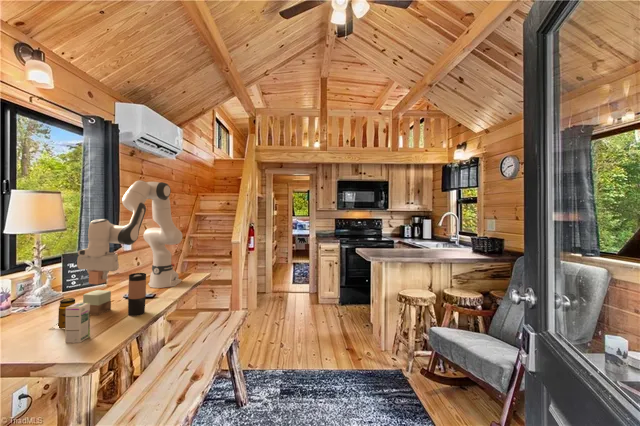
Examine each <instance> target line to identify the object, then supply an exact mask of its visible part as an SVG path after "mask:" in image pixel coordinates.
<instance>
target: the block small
mask: <svg viewBox="0 0 640 426" xmlns="http://www.w3.org/2000/svg"><path fill="white" fill-rule="evenodd" d="M103 274H104V273H103V271H101V270H93V271H90V272H89V274H88V284H89V285H101V284H104V283H106V282H107V278H106V279H101V276H103Z"/></svg>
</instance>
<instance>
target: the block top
mask: <svg viewBox="0 0 640 426" xmlns="http://www.w3.org/2000/svg"><path fill="white" fill-rule="evenodd" d="M82 296H83V297H82V302H84V303H90V305H98V306H99V305H101V304H103V303H106V302H108V301H111V300H112V291H111V290H101V289H96V290H93V291H89V292H86V293H84V294H82ZM111 302H112V301H111Z"/></svg>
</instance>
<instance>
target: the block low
mask: <svg viewBox="0 0 640 426" xmlns="http://www.w3.org/2000/svg"><path fill="white" fill-rule="evenodd" d="M111 308H112V301H108V302H106V303H103V304H101V305H99V306H98V305H90V316H91V315H92V316H100V315H102V314H104V313H107V312H110V311H111Z"/></svg>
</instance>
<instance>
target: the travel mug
mask: <svg viewBox="0 0 640 426" xmlns="http://www.w3.org/2000/svg"><path fill="white" fill-rule="evenodd" d="M127 293H128V294H127V315H128V316H129V317H137V316H139V317H140V316H142V315H144V314H145V313H146V312H145V311H146V296H147V295H146V294H147V273H145V272H134V273H130V274H129V275H128V291H127Z"/></svg>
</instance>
